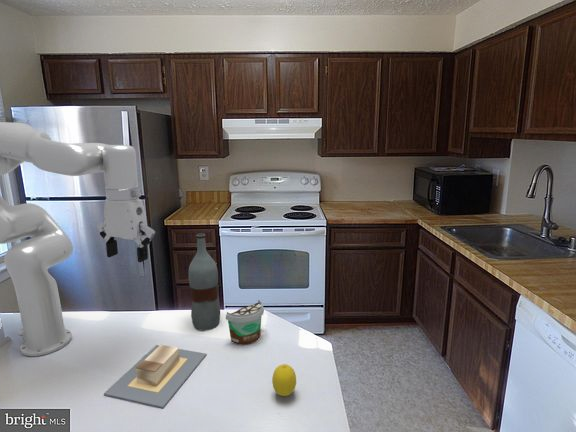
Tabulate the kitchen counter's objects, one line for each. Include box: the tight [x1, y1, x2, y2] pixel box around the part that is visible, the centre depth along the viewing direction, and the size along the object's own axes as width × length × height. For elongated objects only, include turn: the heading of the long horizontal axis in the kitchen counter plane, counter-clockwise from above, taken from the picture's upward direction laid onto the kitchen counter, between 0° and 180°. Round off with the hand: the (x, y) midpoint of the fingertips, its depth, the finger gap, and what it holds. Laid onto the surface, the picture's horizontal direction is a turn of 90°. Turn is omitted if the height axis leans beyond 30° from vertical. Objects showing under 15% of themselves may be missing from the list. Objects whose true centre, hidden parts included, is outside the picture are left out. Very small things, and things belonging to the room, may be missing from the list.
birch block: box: [135, 344, 180, 387], centre depth 89 cm, size 6×10×4 cm, turn 164°
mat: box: [103, 344, 208, 410], centre depth 89 cm, size 16×20×1 cm
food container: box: [225, 299, 265, 346], centre depth 102 cm, size 12×6×10 cm, turn 131°
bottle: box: [187, 233, 221, 331], centre depth 109 cm, size 9×9×30 cm
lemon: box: [271, 363, 297, 397], centre depth 81 cm, size 6×6×8 cm
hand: (127, 258), depth 92 cm, fingers open, 9 cm apart
